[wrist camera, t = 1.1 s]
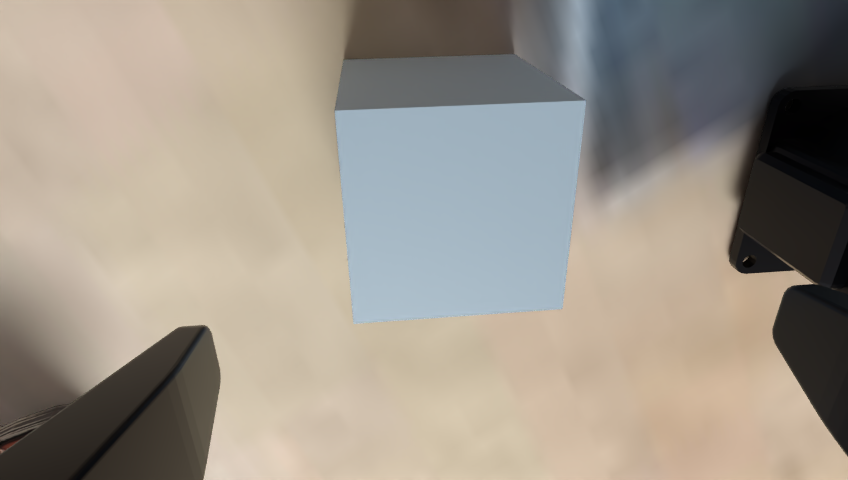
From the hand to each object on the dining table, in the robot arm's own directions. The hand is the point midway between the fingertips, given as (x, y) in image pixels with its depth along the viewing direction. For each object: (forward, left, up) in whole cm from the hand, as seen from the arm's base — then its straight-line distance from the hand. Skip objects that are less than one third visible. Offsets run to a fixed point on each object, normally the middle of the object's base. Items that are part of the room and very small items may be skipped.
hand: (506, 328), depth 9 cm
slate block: (0, 0, -10) cm, 10 cm away
